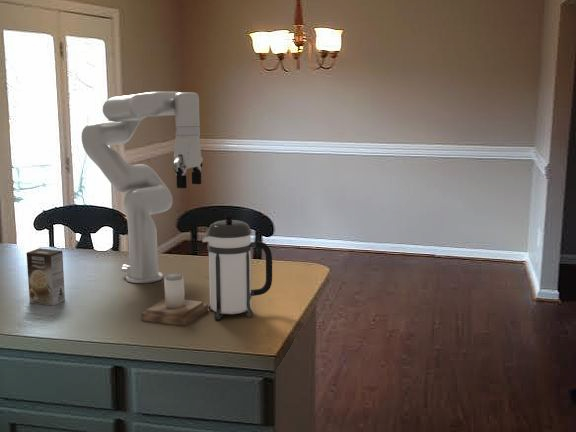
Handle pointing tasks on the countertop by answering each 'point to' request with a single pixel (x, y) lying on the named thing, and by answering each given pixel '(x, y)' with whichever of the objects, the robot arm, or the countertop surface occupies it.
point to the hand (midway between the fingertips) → (189, 186)
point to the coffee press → (233, 267)
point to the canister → (174, 291)
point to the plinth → (175, 313)
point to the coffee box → (45, 276)
